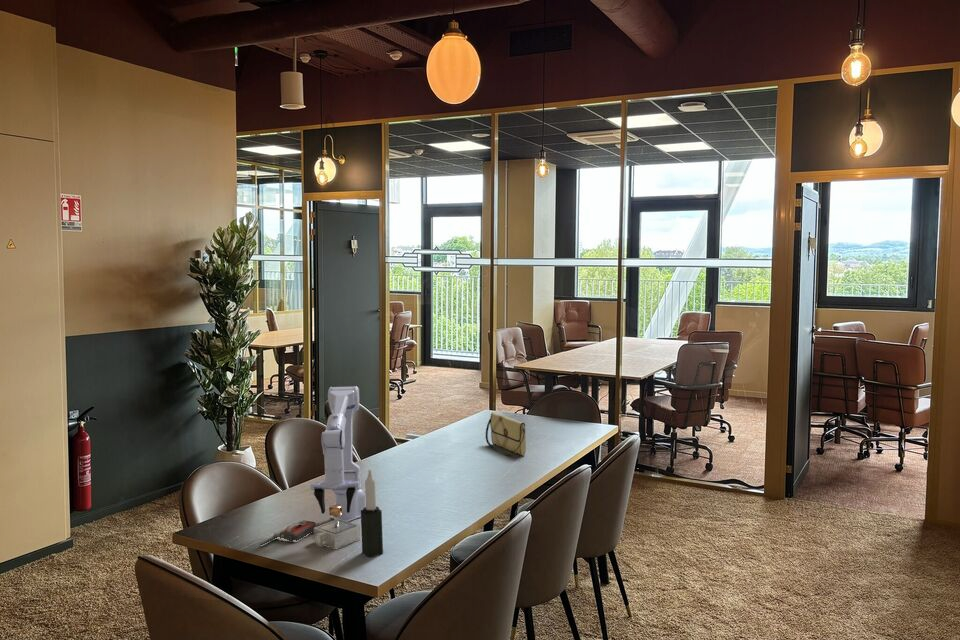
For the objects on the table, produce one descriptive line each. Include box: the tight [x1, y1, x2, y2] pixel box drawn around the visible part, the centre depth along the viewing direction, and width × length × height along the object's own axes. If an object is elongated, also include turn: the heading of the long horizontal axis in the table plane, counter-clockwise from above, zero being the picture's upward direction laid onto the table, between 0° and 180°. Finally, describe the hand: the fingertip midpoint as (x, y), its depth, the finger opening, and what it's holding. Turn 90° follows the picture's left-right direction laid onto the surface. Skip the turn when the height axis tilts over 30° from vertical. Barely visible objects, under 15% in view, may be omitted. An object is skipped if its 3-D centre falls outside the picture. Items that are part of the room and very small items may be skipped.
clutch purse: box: [485, 412, 527, 456], centre depth 331 cm, size 30×7×15 cm, turn 29°
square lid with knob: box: [318, 504, 355, 534], centre depth 226 cm, size 8×8×7 cm
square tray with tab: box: [312, 519, 361, 550], centre depth 226 cm, size 12×10×4 cm
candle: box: [360, 469, 384, 558], centre depth 216 cm, size 5×5×25 cm
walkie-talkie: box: [259, 520, 317, 545], centre depth 230 cm, size 9×4×20 cm
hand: (336, 512), depth 226 cm, fingers open, 7 cm apart
